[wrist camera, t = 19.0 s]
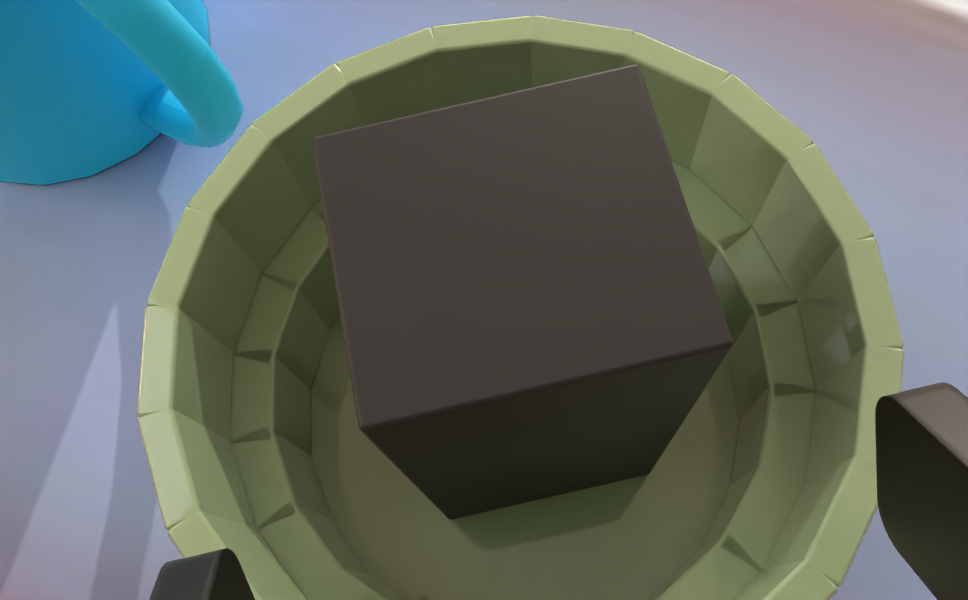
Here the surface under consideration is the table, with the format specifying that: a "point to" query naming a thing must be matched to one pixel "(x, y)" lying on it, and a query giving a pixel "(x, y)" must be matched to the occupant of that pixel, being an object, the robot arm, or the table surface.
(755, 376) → the bowl
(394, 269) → the dark rectangular block
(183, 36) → the mug
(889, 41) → the table surface
